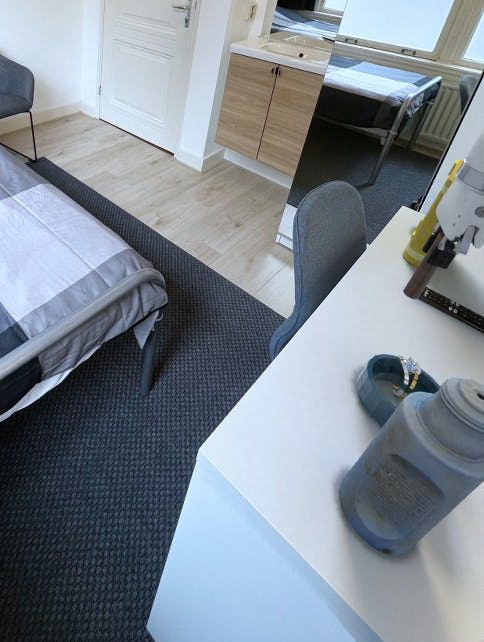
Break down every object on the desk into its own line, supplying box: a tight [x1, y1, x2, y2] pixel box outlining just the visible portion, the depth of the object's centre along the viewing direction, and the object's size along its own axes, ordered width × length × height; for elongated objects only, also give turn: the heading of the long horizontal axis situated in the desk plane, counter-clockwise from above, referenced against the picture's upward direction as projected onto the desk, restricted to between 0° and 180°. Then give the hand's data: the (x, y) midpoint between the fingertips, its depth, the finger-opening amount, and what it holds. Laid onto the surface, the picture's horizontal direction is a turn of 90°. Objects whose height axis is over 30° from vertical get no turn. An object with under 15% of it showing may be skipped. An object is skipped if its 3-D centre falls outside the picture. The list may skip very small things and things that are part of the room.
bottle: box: [338, 376, 484, 556], centre depth 54 cm, size 10×10×30 cm
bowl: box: [355, 353, 441, 427], centre depth 75 cm, size 13×13×6 cm
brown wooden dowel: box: [402, 232, 456, 300], centre depth 80 cm, size 3×3×15 cm
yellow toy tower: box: [402, 158, 464, 268], centre depth 109 cm, size 17×7×25 cm, turn 133°
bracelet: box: [392, 354, 422, 399], centre depth 77 cm, size 7×3×8 cm, turn 147°
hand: (433, 258), depth 79 cm, fingers closed on brown wooden dowel, 2 cm apart
